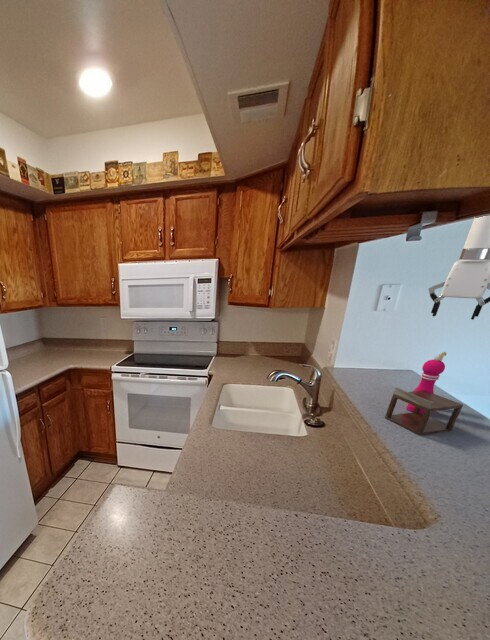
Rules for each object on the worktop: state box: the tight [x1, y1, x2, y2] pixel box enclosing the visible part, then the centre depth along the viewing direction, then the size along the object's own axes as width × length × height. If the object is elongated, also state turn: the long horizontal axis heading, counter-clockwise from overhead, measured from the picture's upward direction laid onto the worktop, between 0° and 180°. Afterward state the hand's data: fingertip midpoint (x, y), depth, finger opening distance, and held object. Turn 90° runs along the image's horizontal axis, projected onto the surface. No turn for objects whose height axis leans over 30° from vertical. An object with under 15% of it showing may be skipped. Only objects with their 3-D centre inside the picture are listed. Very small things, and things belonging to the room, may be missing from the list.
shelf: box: [384, 387, 464, 436], centre depth 106 cm, size 13×13×11 cm
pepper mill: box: [406, 354, 446, 415], centre depth 114 cm, size 7×7×20 cm
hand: (452, 317), depth 103 cm, fingers open, 9 cm apart
